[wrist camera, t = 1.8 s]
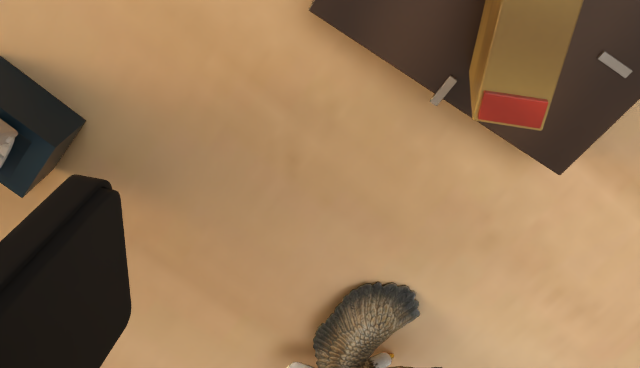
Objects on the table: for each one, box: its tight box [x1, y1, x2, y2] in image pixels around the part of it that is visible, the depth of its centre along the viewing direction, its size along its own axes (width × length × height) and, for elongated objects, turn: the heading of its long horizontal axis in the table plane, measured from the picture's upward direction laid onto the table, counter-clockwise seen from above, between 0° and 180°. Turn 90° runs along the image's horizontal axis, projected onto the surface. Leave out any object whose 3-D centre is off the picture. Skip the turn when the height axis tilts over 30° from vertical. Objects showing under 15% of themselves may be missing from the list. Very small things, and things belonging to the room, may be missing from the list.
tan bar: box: [469, 0, 584, 131], centre depth 21 cm, size 6×2×5 cm, turn 175°
